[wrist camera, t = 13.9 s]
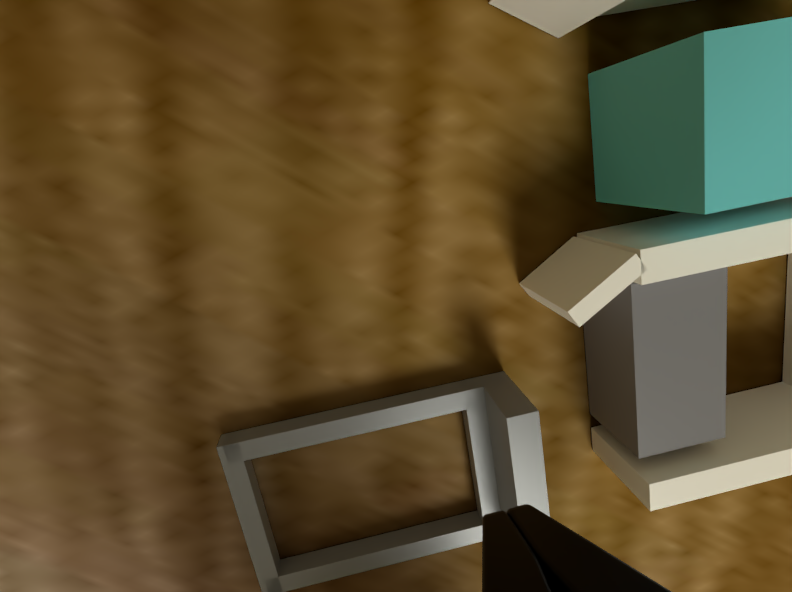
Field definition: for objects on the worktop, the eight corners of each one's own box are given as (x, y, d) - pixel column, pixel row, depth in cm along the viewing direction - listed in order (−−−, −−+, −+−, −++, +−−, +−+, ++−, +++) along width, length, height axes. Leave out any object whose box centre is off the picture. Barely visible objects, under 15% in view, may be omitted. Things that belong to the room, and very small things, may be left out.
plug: (782, 40, 16) (977, -16, 11) (778, 164, 17) (954, 162, 12) (586, 74, 15) (703, 31, 11) (594, 201, 17) (704, 214, 12)
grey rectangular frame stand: (503, 371, 17) (538, 410, 15) (521, 514, 19) (556, 575, 16) (221, 434, 17) (199, 489, 14) (266, 579, 18) (254, 655, 15)
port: (538, 463, 19) (585, 528, 15) (486, -16, 14) (535, -74, 11) (803, 398, 20) (902, 446, 16) (831, -70, 15) (974, -137, 12)
